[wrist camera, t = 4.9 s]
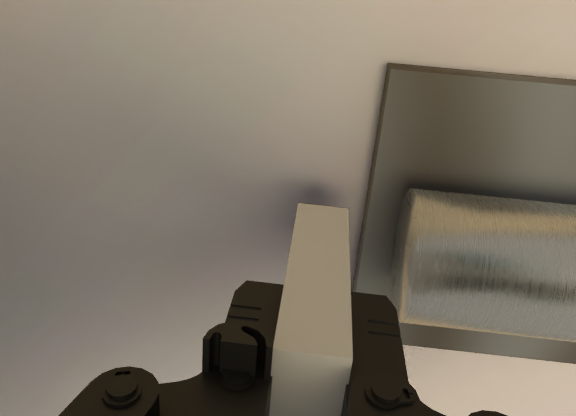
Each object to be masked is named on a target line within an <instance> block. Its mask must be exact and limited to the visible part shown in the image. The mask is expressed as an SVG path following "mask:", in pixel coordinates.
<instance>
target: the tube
mask: <svg viewBox="0 0 576 416" xmlns="http://www.w3.org/2000/svg"><path fill="white" fill-rule="evenodd" d="M391 292H392V304H393V305H394V306H395V308H396V309H397V315H398V321H399V322H401V323H410V324H419V325H427V326H436V327H445V328H454V329H463V330H472V331H481V332H490V333H498V334H507V335H516V336H525V337H534V338H543V339H552V340H561V341H569V342H576V205H570V204H560V203H550V202H540V201H531V200H521V199H511V198H501V197H491V196H482V195H472V194H462V193H452V192H443V191H433V190H423V189H413V188H411V189H409V190H408V191H407V192H406V194H405V196H404V199H403V202H402V205H401V208H400V212H399V216H398V221H397V226H396V232H395V239H394V247H393V258H392V275H391Z"/></svg>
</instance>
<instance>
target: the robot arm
mask: <svg viewBox="0 0 576 416" xmlns="http://www.w3.org/2000/svg"><path fill="white" fill-rule="evenodd" d="M59 416H445V415H443V414H441V413H439V412H436V411H434V410H432V409H431V408H429V407H428V406H426V405H425V404H424V403H422V402H421V401H420V399H419V397H418V395H417V392H416V390H415V389H414V388H413V387H412V386H411V385H410V384H409V382H408V377H407V370H406V364H405V358H404V352H403V346H402V339H401V333H400V327H399V321H398V315H397V309H396V308H395V306H394V305H393V304H392V302H391V301H390V300H389V299H388V297H387V296H385V295H376V294H368V293H360V292H351V282H350V251H349V219H348V208H339V207H330V206H321V205H312V204H303V203H298V207H297V212H296V218H295V224H294V229H293V235H292V241H291V247H290V252H289V258H288V264H287V270H286V275H285V281H284V285H281V284H272V283H264V282H255V281H246V282H245V283H243V284H242V285H241V286H240V287H239V288H238V289H237V290H236V291H235V293H234V296H233V299H232V302H231V307H230V308H229V312H228V315H227V318H226V321H225V323H222V324H218V325H217V326H215V327H213V328H212V329H210V330H209V331H208V332H207V334H206V335H205V336H204V338H203V359H202V373H200V374H199V375H197V376H195V377H192V378H190V379H188V380H183V381H178V382H171V383H163V384H158V381H157V380H156V378H155V377H154V375H153V374H151V373H150V372H148V371H146V370H144V369H142V368H135V367H121V368H115V369H112V370H110V371H107V372H104V373H102V374H101V375H99V376H98V377H97V378H95V379H94V380H93V381H91V382H90V383H89V385H88V386H87V387H86V388H85V389H84V390H83V391H82V392H81V393H80V394H79V395H78V396H77V397H76V398H75V399H74V400H73V401H72V402H71V403H70V404H69V405H68V406H67V407H66V408H65V409H64V411H63V412H62V413H61V414H60V415H59ZM469 416H507V415H504V414H501V413H499V412H495V411H484V410H482V411H478V412H474V413H471V414H470V415H469Z"/></svg>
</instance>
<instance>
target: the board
mask: <svg viewBox="0 0 576 416" xmlns="http://www.w3.org/2000/svg"><path fill="white" fill-rule="evenodd" d="M411 188H413V189H423V190H433V191H443V192H452V193H462V194H472V195H482V196H491V197H501V198H511V199H521V200H531V201H540V202H550V203H560V204H570V205H576V80H567V79H556V78H546V77H535V76H524V75H513V74H502V73H491V72H480V71H469V70H458V69H448V68H437V67H426V66H415V65H404V64H393V63H388V66H387V72H386V79H385V85H384V92H383V98H382V104H381V111H380V117H379V124H378V130H377V137H376V143H375V150H374V156H373V162H372V169H371V175H370V182H369V188H368V195H367V201H366V207H365V214H364V220H363V227H362V233H361V240H360V246H359V253H358V259H357V265H356V272H355V278H354V285H353V291H352V292H360V293H368V294H376V295H385V296H387V297H388V299H389V300H390V301H391V302H392V292H391V275H392V258H393V247H394V239H395V232H396V226H397V221H398V216H399V212H400V208H401V205H402V202H403V199H404V196H405V194H406V192H407V191H408V190H409V189H411ZM399 327H400V333H401V339H402V345H411V346H420V347H429V348H438V349H447V350H456V351H465V352H474V353H483V354H492V355H501V356H510V357H519V358H528V359H537V360H546V361H555V362H564V363H573V364H576V342H569V341H561V340H552V339H543V338H534V337H525V336H516V335H507V334H498V333H490V332H481V331H472V330H463V329H454V328H445V327H436V326H427V325H419V324H410V323H401V322H399Z"/></svg>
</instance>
